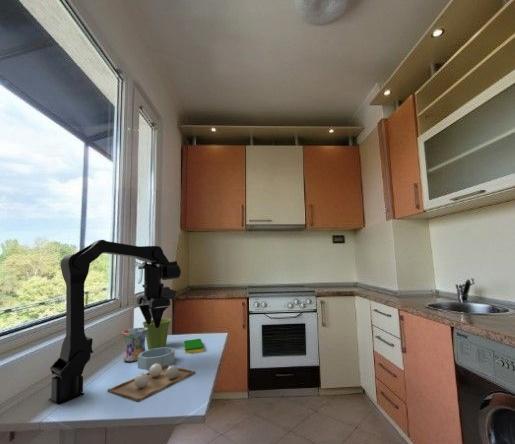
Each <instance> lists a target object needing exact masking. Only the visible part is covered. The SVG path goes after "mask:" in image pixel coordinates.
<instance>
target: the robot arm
mask: <svg viewBox="0 0 515 444" xmlns="http://www.w3.org/2000/svg"><path fill="white" fill-rule="evenodd" d="M102 254H107V255H112V256H113V255H115V256H121V257H129V258H134V259H136V260H139V261H141V262H142V263H141V264H140V265H139V266H138V267H137V269H138V270H143V274H144V275H143V280H144V281H143V282H144V283H143V284H142V288H143V290H144V291H143V295H140V296H138V297H137V298H136V305H138V306H137V307H138V308H139V310H140V312H141V315H142V316H143V318H144V322H145V321H146V323H147V324H148V325H149V324H151V320H153V322H154V325H155V327H156V328H159V326H160V322H161V319H163V314H164V311H166V310H167V309H168V308H169V306H171V300H175V299H176V296H177V293H178V290H175V289H171V288H170V286H169V287H168V286H165V285H164V283H162V280H163V281H167V280H177V279H179V278H180V276H181V274H182V270H181V267H180V265H179V264H178V261H169V259H168V258H167V256H166V255H165V254H164V250H163V249H162V247H161V246H159V245H144V246H140V245H133V244H126V243H120V242H114V241H108V240H105V239H99V240H95V241H93V242H92V243H90V244H89V245H87V246H86V247H83V248H82V249H80V250H79V251H77V252H75V253H71V254H67V255H65V256H63V258H62V259H61V260H60V264H59V265H60V271H61V275H62V277H63V278H62V279H64V283H65V286H66V288H65V289H66V291H65V292H66V295H65V297H66V300H65V303H66V304H65V305H66V307H65V310H66V311H65V314H66V315H65V319H66V320H65V326H66V327H65V333H66V334H65V337H64V339H63V342H62V344H61V350H60V354H59V357H58V358H57V360H55V362H54V363H52V365H51V366H50V367H49V370H50V372H51V375H53V377H51V389H50V390H51V391H50V393H51V394H50V395H51V397H50V398H48V399H47V400H48V401H49V402H51V403H53V404H55V405H58V406H60V405H63V404H65V403H67V402H70V401H72V400H74V399H77V398H81V397H82V396H84V395H85V393H84V375H83V372H84V370H85V367H86V365H87V364H88V362H90V359H91V354H93V353H94V351H93V341H94V340H93V339H94V338H92V337H89V336H86V332H85V282H86V279H87V278H88V275H89V272H90V271H89V270H90V265H91V264H92V263H93V262H95V260H97V258H99V257H100V256H101V255H102Z"/></svg>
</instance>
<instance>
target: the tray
mask: <svg viewBox="0 0 515 444" xmlns="http://www.w3.org/2000/svg"><path fill="white" fill-rule="evenodd" d="M169 366H170V365H168V366H167V365H165V366H163V367H162V372H161V374H160V375H159V376H157V377H152V376H151V375H150V373H149V371H148V372H145V373H146V374H147V375H148V377H149V381H148V384H147V385H146V386H145V387H143V388H138V387H136V386H135V378H136V377H134V378H132V379H130V380H127V381H125V382H122V383H120V384H118V385H115V386H112V387H110V388H108V389H107V393H109V394H113V395H115V396H118V397H121V398H124V399H127V400H131V401H133V402H136V403H139V402H141V401H143V400H145V399H147V398H149V397H151V396H153V395H155V394H157V393H159V392H161V391H163V390H165V389H167V388H170V387H171V386H173V385H175V384H177V383H179V382H181V381H183V380H185V379H187V378H188V377H189V378H190V377H191V376H193V375H195V374H196V371H195V370H190V369H186V368H181V367H178V370H179V373H178V375H177V377H176V378H174V379H168V378H167V376H166V370H167V368H168V367H169Z"/></svg>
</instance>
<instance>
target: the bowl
mask: <svg viewBox="0 0 515 444" xmlns="http://www.w3.org/2000/svg"><path fill="white" fill-rule="evenodd" d="M175 360H176V348H175V347H168V346H166V347H161V348H153V349H150V350H149V349H147V350H146V351H144V352H141V353H140V354H139V356H138V361H137V369H140V370H145V371H149V369H150V367H151V366H152V365H153V364H156V363H158V364H160V365H161V366H162V367H163V366H165V365H167V366H171V365H174V364H175Z"/></svg>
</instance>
